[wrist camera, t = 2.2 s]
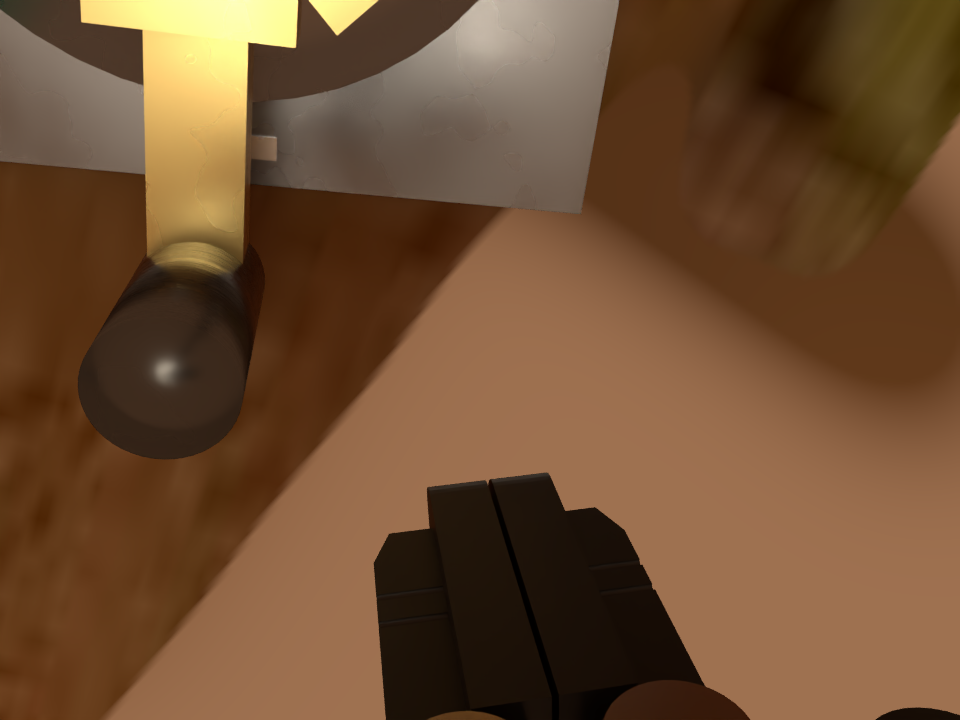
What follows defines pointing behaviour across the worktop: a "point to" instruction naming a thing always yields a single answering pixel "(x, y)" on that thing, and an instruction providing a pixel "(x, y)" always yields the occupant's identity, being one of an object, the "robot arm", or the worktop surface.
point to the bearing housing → (344, 98)
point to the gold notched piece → (190, 225)
